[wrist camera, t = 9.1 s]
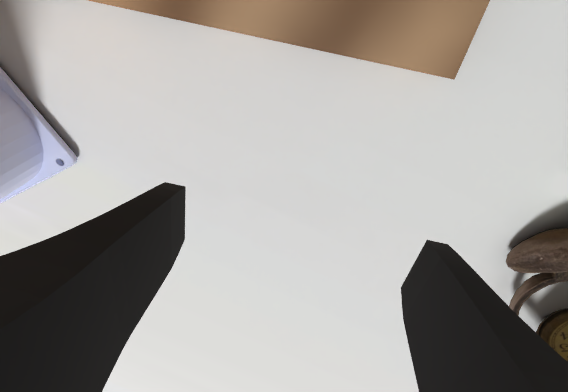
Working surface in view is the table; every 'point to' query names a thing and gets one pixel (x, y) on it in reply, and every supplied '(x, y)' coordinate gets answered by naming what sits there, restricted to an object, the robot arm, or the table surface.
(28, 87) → the table surface
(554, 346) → the brown rounded piece
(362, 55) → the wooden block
